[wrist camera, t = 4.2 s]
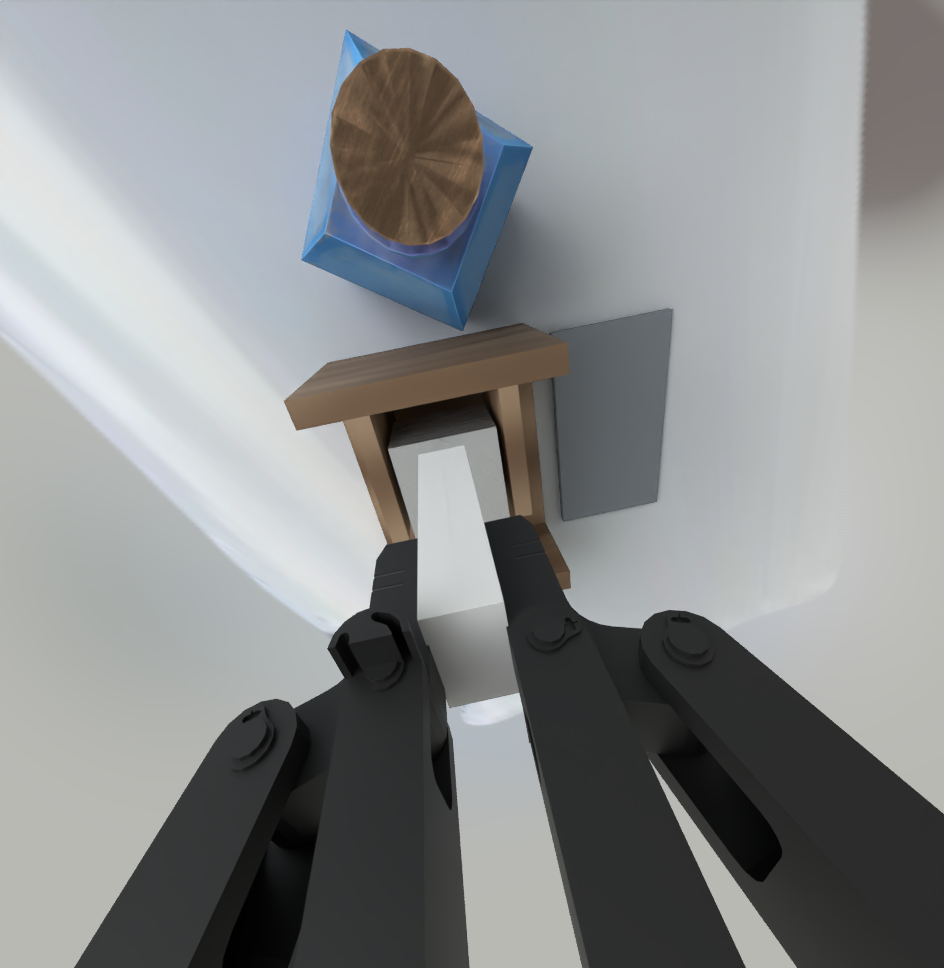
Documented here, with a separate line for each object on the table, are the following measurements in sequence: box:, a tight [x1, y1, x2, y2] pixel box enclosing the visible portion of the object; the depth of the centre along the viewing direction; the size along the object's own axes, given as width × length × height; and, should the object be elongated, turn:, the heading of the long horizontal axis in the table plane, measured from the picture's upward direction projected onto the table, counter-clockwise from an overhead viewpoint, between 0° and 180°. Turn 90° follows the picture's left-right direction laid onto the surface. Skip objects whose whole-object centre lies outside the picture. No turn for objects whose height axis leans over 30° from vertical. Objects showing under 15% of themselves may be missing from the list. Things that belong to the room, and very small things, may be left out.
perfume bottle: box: [301, 30, 533, 331], centre depth 13 cm, size 6×6×12 cm
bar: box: [388, 404, 510, 538], centre depth 20 cm, size 10×5×4 cm, turn 10°
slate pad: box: [549, 309, 673, 521], centre depth 24 cm, size 13×7×1 cm, turn 10°
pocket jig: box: [284, 323, 571, 590], centre depth 21 cm, size 14×11×8 cm
